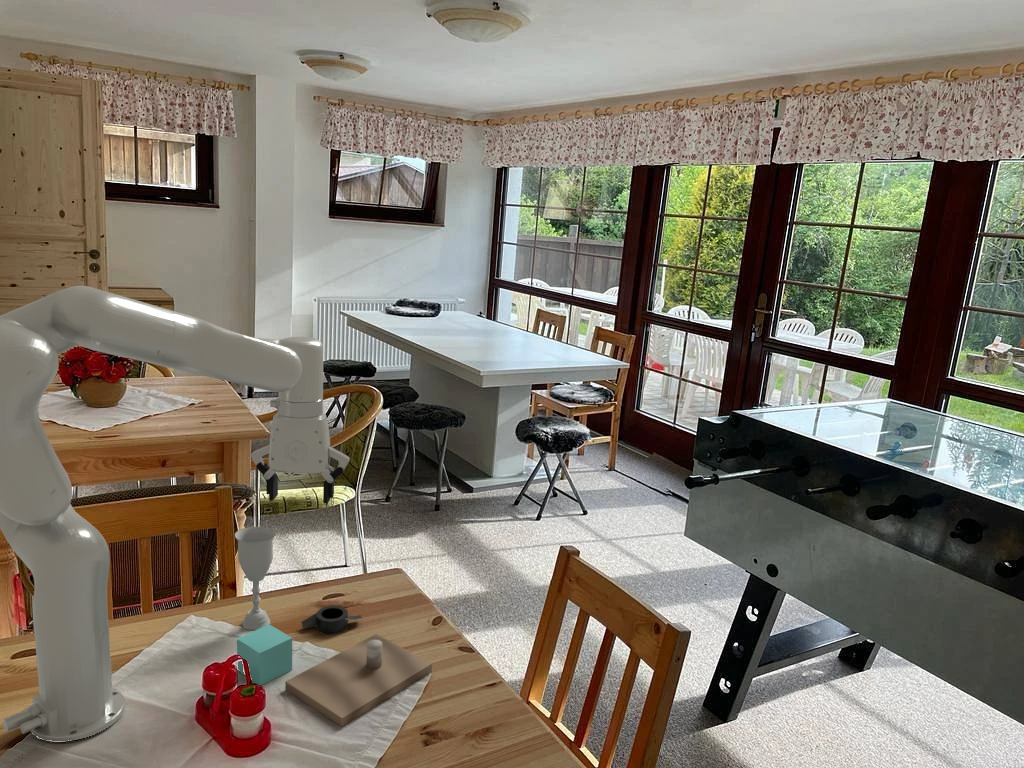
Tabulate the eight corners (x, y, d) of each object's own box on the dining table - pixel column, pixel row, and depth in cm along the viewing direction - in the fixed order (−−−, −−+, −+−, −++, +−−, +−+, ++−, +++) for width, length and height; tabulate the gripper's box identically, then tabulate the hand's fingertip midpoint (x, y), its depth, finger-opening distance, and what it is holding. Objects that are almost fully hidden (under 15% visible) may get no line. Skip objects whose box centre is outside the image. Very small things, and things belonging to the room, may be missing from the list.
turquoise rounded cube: (260, 685, 128) (259, 653, 127) (237, 670, 132) (236, 638, 130) (292, 669, 133) (292, 637, 132) (269, 655, 137) (269, 624, 135)
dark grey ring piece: (317, 613, 152) (317, 599, 151) (364, 621, 150) (365, 608, 149) (298, 633, 145) (298, 618, 144) (347, 642, 143) (348, 628, 142)
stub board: (341, 726, 119) (342, 695, 118) (285, 689, 127) (285, 659, 126) (431, 671, 135) (432, 642, 134) (376, 641, 143) (376, 614, 142)
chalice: (283, 617, 149) (283, 530, 145) (263, 635, 143) (262, 544, 139) (249, 610, 151) (248, 524, 147) (228, 627, 144) (226, 537, 141)
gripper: (244, 410, 132) (245, 504, 136) (346, 416, 133) (344, 510, 136) (257, 399, 140) (258, 489, 143) (354, 405, 140) (352, 494, 144)
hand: (300, 499), depth 140 cm, fingers open, 9 cm apart
